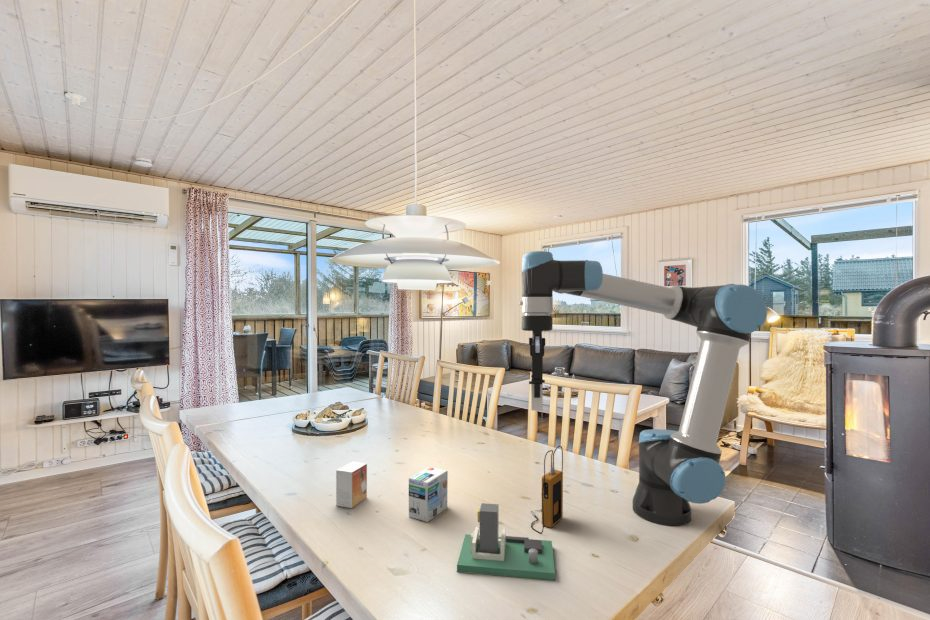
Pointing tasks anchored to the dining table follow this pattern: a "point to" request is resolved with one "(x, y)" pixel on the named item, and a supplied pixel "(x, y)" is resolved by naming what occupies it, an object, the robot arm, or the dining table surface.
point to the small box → (351, 484)
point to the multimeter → (551, 496)
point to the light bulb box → (428, 493)
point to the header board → (508, 557)
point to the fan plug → (488, 528)
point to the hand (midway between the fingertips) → (536, 409)
